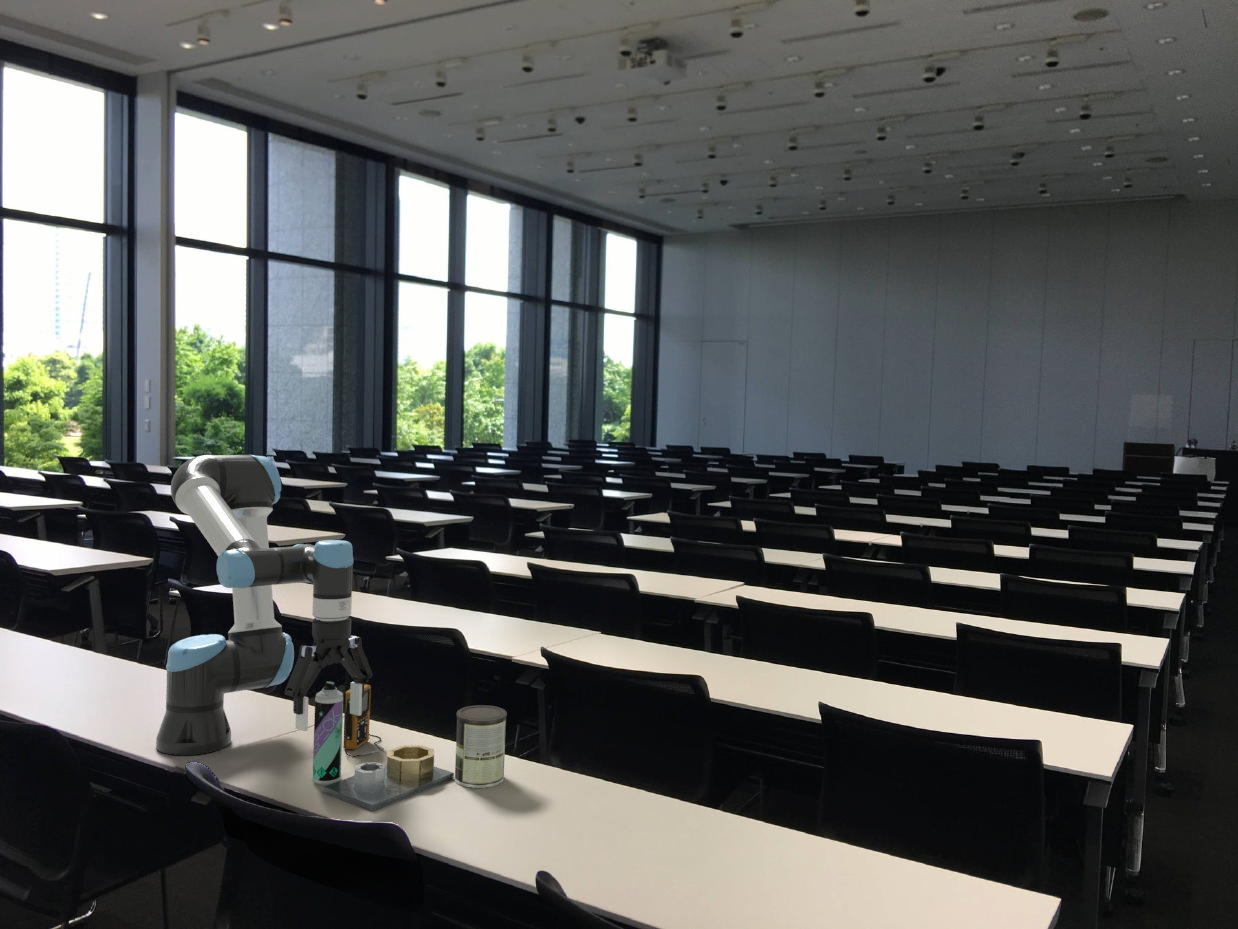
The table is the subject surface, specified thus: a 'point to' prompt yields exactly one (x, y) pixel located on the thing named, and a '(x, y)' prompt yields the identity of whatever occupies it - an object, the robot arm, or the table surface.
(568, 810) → the table surface
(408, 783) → the fitting plate
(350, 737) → the multimeter
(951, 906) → the table surface
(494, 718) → the coffee can
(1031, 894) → the table surface
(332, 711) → the spray can
